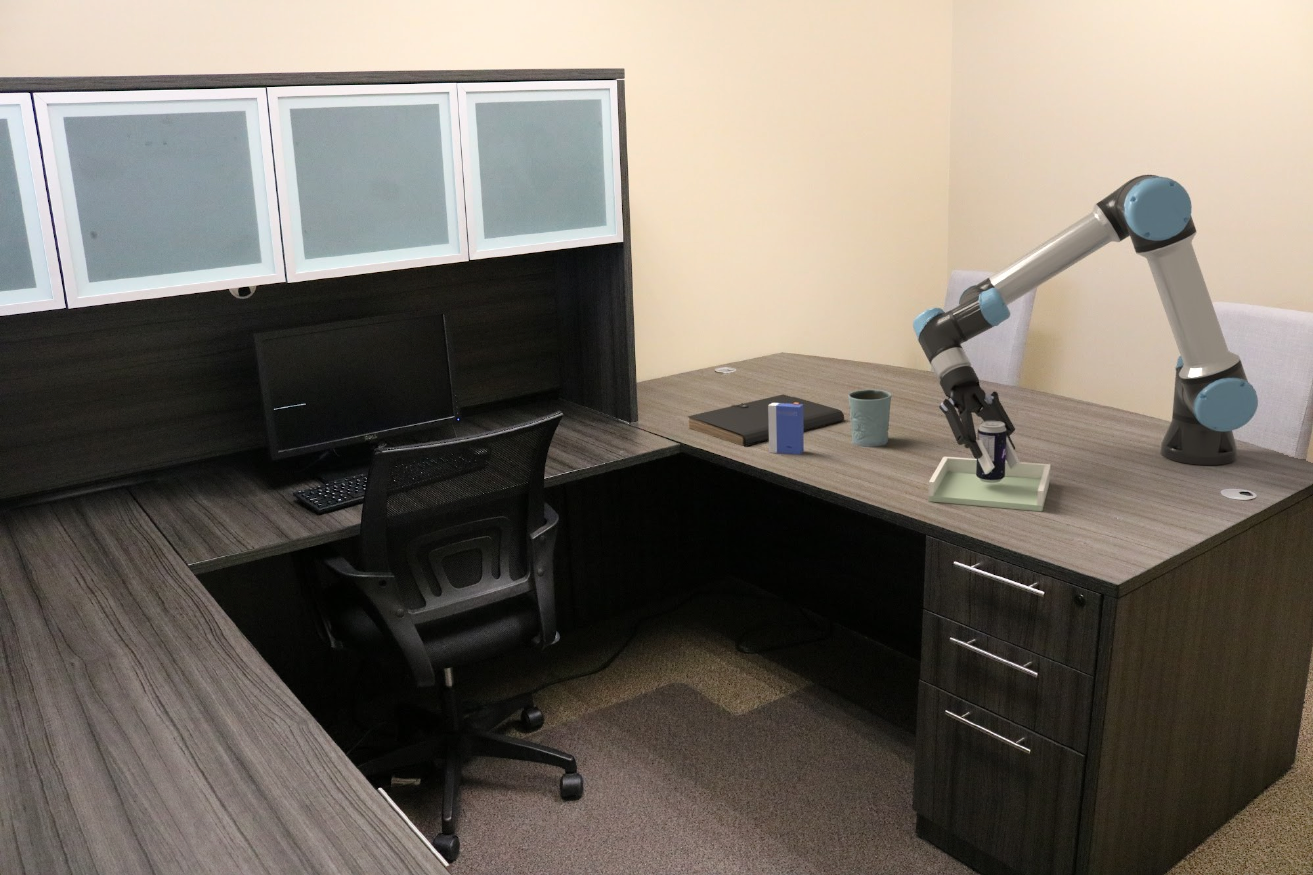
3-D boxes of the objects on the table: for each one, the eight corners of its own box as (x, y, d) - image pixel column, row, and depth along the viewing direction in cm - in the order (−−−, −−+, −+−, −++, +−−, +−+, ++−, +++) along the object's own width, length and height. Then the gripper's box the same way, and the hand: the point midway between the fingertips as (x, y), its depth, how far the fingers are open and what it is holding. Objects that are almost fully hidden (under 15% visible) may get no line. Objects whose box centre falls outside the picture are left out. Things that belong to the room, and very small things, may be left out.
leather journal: (782, 392, 302) (844, 409, 283) (782, 407, 303) (844, 425, 284) (686, 414, 284) (745, 434, 265) (687, 429, 285) (745, 450, 266)
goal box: (1049, 483, 229) (1050, 464, 228) (1042, 511, 213) (1043, 491, 212) (943, 474, 238) (943, 456, 237) (928, 501, 222) (928, 481, 221)
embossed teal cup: (892, 437, 268) (892, 389, 265) (889, 448, 259) (889, 399, 255) (850, 435, 271) (850, 388, 267) (846, 447, 261) (846, 398, 258)
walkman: (803, 451, 260) (803, 402, 256) (800, 454, 257) (799, 405, 254) (772, 449, 263) (771, 401, 260) (768, 452, 260) (767, 403, 257)
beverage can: (1006, 484, 222) (1008, 427, 218) (977, 483, 223) (979, 427, 220) (1003, 475, 227) (1005, 420, 224) (974, 475, 228) (976, 420, 225)
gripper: (983, 378, 237) (1030, 470, 227) (910, 389, 231) (956, 484, 221) (1000, 358, 231) (1049, 452, 221) (926, 369, 225) (973, 466, 214)
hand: (1002, 468), depth 221 cm, fingers closed on beverage can, 6 cm apart
